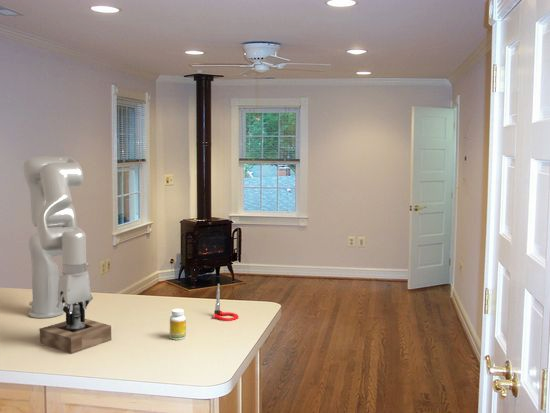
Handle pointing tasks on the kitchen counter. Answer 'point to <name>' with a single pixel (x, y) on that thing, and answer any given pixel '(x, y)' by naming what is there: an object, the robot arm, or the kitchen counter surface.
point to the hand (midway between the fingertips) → (75, 322)
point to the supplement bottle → (177, 324)
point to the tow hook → (218, 312)
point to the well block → (75, 336)
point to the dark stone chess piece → (76, 320)
